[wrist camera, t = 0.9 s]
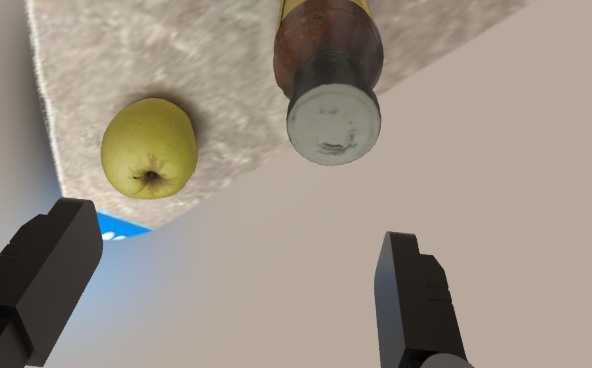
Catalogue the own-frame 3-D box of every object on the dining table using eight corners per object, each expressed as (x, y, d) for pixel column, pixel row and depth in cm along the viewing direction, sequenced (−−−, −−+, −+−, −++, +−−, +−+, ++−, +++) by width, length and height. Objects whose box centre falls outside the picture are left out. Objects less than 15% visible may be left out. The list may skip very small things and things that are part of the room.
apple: (86, 115, 41) (68, 167, 33) (166, 72, 41) (167, 114, 33) (138, 181, 46) (133, 242, 37) (211, 143, 46) (222, 196, 37)
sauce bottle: (332, 57, 38) (342, 218, 23) (267, 15, 37) (227, 157, 21) (383, -13, 35) (437, 118, 19) (313, -64, 33) (309, 34, 17)
